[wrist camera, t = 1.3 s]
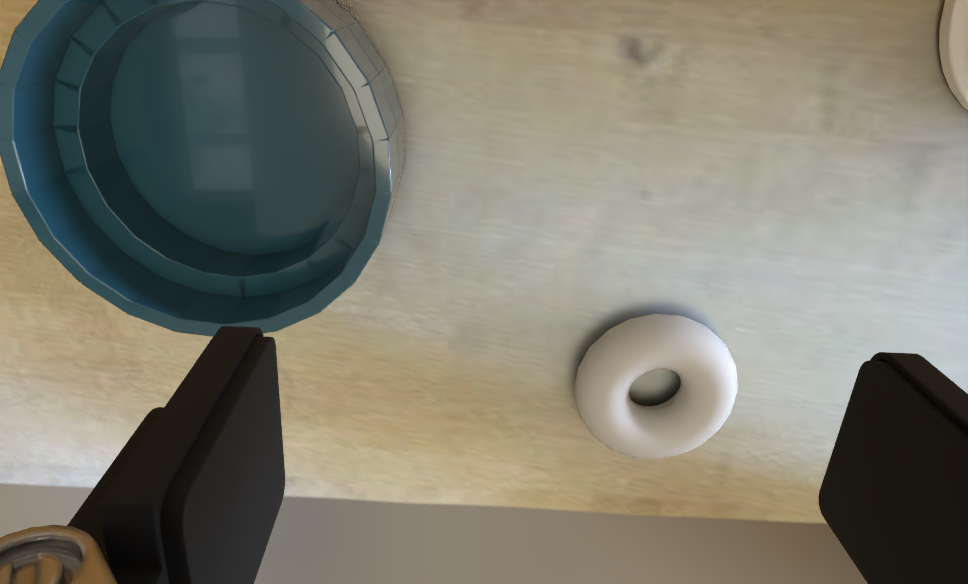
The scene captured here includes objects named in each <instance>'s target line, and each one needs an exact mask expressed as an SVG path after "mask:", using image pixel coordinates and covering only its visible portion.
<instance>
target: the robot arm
mask: <svg viewBox="0 0 968 584" xmlns="http://www.w3.org/2000/svg"><path fill="white" fill-rule="evenodd" d="M939 52H940V58H941V64H942V70H943V73H944V75H945V78H946V80H947V83H948V85H949V87H950V90H951V91H952V93H953V94H954V95H955V97H956V98H957V99H958V101H959V102H960V104H961V105H962V106H963V107H964V108H965V109H967V110H968V0H945V4H944V8H943V13H942V17H941V22H940V36H939ZM284 488H285V469H284V455H283V441H282V427H281V413H280V399H279V385H278V371H277V357H276V345H275V340H274V338H273V337H263V332H262V330H261V328H260V327H238V326H221V327H220V328H219V329H218V331H217V332H216V334H215V335H214V337H213V338H212V340H211V341H210V342H209V344H208V345H207V347H206V348H205V350H204V351H203V353H202V354H201V355H200V357H199V358H198V360H197V361H196V363H195V364H194V366H193V367H192V368H191V370H190V371H189V373H188V374H187V376H186V377H185V379H184V380H183V381H182V383H181V384H180V386H179V387H178V389H177V390H176V392H175V393H174V394H173V396H172V397H171V399H170V400H169V402H168V403H167V405H166V406H165V407H164V408H162V407H158V408H155V409H152V410H151V411H150V412H149V414H148V415H147V416H146V417H145V418H144V420H143V421H142V423H141V424H140V425H139V427H138V428H137V430H136V431H135V432H134V434H133V435H132V437H131V438H130V439H129V441H128V442H127V443H126V445H125V446H124V448H123V449H122V450H121V452H120V453H119V455H118V456H117V457H116V459H115V460H114V462H113V463H112V464H111V466H110V467H109V468H108V470H107V471H106V473H105V474H104V475H103V477H102V478H101V480H100V481H99V482H98V484H97V485H96V487H95V488H94V489H93V491H92V492H91V494H90V495H89V496H88V498H87V499H86V500H85V502H84V503H83V505H82V506H81V507H80V509H79V510H78V512H77V513H76V514H75V516H74V517H73V518H72V520H71V521H70V523H69V524H68V525H67V526H60V525H48V526H40V527H32V528H28V529H25V530H21V531H18V532H14V533H11V534H8V535H5V536H3V537H1V538H0V584H254V581H255V578H256V575H257V572H258V570H259V567H260V564H261V561H262V558H263V555H264V552H265V549H266V546H267V543H268V540H269V537H270V535H271V532H272V529H273V526H274V523H275V520H276V517H277V514H278V511H279V508H280V506H281V503H282V499H283V495H284ZM819 507H820V510H821V513H822V515H823V517H824V519H825V520H826V522H827V523H828V525H829V526H830V528H831V529H832V531H833V532H834V533H835V535H836V537H837V538H838V540H839V541H840V543H841V544H842V546H843V547H844V549H845V550H846V552H847V553H848V554H849V556H850V558H851V559H852V560H853V562H854V564H855V565H856V566H857V568H858V569H859V571H860V572H861V574H862V575H863V577H864V578H865V580H866V581H867V583H868V584H968V394H967V393H966V392H965V391H963V390H962V389H961V388H960V387H958V386H957V385H956V384H955V383H954V382H952V381H951V380H950V379H949V378H948V377H946V376H945V375H944V374H943V373H942V372H940V371H939V370H938V369H937V368H935V367H934V366H933V365H932V364H931V363H929V362H928V361H927V360H926V359H925V358H923V357H922V356H920V355H918V354H910V353H885V352H879V353H877V354H875V355H874V356H873V357H872V358H871V360H870V361H866V362H864V363H863V364H862V366H861V368H860V370H859V373H858V376H857V379H856V382H855V385H854V388H853V391H852V394H851V397H850V400H849V403H848V406H847V409H846V412H845V415H844V418H843V421H842V425H841V428H840V431H839V434H838V437H837V440H836V443H835V446H834V449H833V452H832V455H831V458H830V461H829V464H828V467H827V470H826V473H825V476H824V479H823V483H822V486H821V489H820V492H819Z"/></svg>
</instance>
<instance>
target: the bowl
mask: <svg viewBox="0 0 968 584" xmlns="http://www.w3.org/2000/svg"><path fill="white" fill-rule="evenodd" d="M0 155H1V159H2V162H3V166H4V169H5V173H6V176H7V179H8V183H9V186H10V190H11V192H12V195H13V197H14V199H15V201H16V202H17V204H18V206H19V207H20V209H21V211H22V212H23V214H24V216H25V217H26V219H27V221H28V222H29V224H30V226H31V227H32V229H33V231H34V232H35V234H36V236H37V238H38V239H39V241H40V242H42V244H43V245H44V246H45V247H46V248H47V249H48V250H49V251H50V252H51V253H52V254H53V255H54V256H55V258H56V259H57V260H58V261H59V262H60V263H61V264H62V265H63V266H64V267H65V268H66V269H67V270H68V271H69V272H70V273H71V274H72V275H73V276H74V277H75V278H76V279H77V280H78V281H79V282H81V284H83V285H84V286H86V287H87V288H89V289H90V290H92V291H93V292H95V293H96V294H98V295H99V296H101V297H102V298H104V299H105V300H107V301H109V302H110V303H112V304H113V305H115V306H116V307H118V308H119V309H121V310H122V311H124V312H127V314H129V315H132V316H134V317H137V318H140V319H143V320H145V321H148V322H151V323H153V324H156V325H159V326H161V327H164V328H167V329H170V330H172V331H175V332H181V333H189V334H197V335H205V336H214V335H215V334H216V332H217V331H218V329H219V328H220V327H221V326H238V327H260V328H261V330H262V332H263V333H268V332H274V331H278V330H281V329H283V328H285V327H288V326H290V325H292V324H295V323H297V322H299V321H302V320H304V319H306V318H309V317H311V316H313V315H316V314H318V313H319V312H321V311H322V310H323V309H324V308H326V307H327V306H328V305H329V304H330V303H332V302H333V301H334V300H335V299H336V298H337V297H339V296H340V295H341V294H342V293H343V292H345V291H346V290H347V289H348V288H349V287H350V286H352V285H353V284H354V282H356V280H357V278H358V277H359V275H360V274H361V272H362V270H363V269H364V267H365V266H366V264H367V262H368V261H369V259H370V258H371V256H372V254H373V253H374V251H375V250H376V248H377V246H378V245H379V243H380V241H381V238H382V235H383V232H384V229H385V227H386V224H387V221H388V218H389V216H390V213H391V210H392V207H393V205H394V202H395V198H396V194H397V190H398V186H399V182H400V178H401V174H402V170H403V166H404V162H405V148H404V125H403V112H402V109H401V106H400V103H399V100H398V97H397V94H396V91H395V88H394V85H393V82H392V79H391V76H390V73H389V70H388V67H387V66H386V63H385V62H384V60H383V59H382V57H381V56H380V54H379V53H378V51H377V50H376V48H375V47H374V45H373V44H372V42H371V41H370V39H369V38H368V36H367V35H366V33H365V32H364V30H363V29H362V27H361V26H360V24H359V23H358V22H357V21H356V20H355V19H354V18H353V17H352V16H351V15H350V14H349V13H347V12H346V11H345V10H344V9H343V8H342V7H341V6H339V5H338V4H337V3H336V2H335V1H334V0H38V2H37V3H36V4H35V5H34V6H33V8H32V9H31V10H30V11H29V12H28V14H27V15H26V16H25V17H24V18H23V20H22V21H21V22H20V23H19V24H18V26H17V27H16V28H15V31H14V32H13V35H12V37H11V40H10V43H9V46H8V49H7V52H6V55H5V58H4V61H3V63H2V66H1V69H0Z"/></svg>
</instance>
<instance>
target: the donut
mask: <svg viewBox="0 0 968 584" xmlns="http://www.w3.org/2000/svg"><path fill="white" fill-rule="evenodd" d="M657 369H668V370H671V371H674V372H676V373H677V374H678V375H679V377H680V378H681V385H680V389H679V390H678V392H677V393H676V395H674V396H673V397H672V398H671V399H670V400H668V401H666V402H664V403H662V404H660V405H655V406H641V405H638V404H636V403H635V402H633V401H632V400H631V399H630V397H629V390H630V386H631V385H632V383H633V382H634V381H635V380H636V379H637V378H638V377H639V376H641V375H643V374H645V373H647V372H649V371H652V370H657ZM737 389H738V386H737V375H736V366H735V363H734V361H733V359H732V357H731V355H730V353H729V351H728V349H727V347H726V345H725V343H724V342H723V341H722V340H721V339H720V338H718V337H717V336H716V335H715V334H714V333H713V332H712V331H710V330H709V329H708V328H707V327H706V326H705V325H703V324H701V323H698V322H696V321H693V320H691V319H688V318H686V317H683V316H679V315H666V314H651V315H646V316H641V317H636V318H631V319H629V320H627V321H625V322H623V323H621V324H619V325H617V326H615V327H613V328H611V329H609V330H608V331H607V332H606V333H605V334H603V335H602V336H601V337H600V338H599V339H598V340H597V341H596V342H595V343H594V344H593V345H592V346H591V347H590V348H589V350H588V351H587V353H586V355H585V357H584V358H583V360H582V362H581V364H580V366H579V367H578V373H577V379H576V384H575V398H576V403H577V408H578V413H579V415H580V417H581V419H582V420H583V422H584V423H585V425H586V427H587V428H588V430H589V431H590V433H591V434H592V436H594V437H595V438H596V439H598V440H599V441H600V442H601V443H603V444H604V445H605V446H607V447H608V448H609V449H611V450H613V451H616V452H619V453H621V454H624V455H627V456H630V457H632V458H644V459H661V458H666V457H672V456H677V455H680V454H683V453H685V452H687V451H689V450H691V449H694V448H696V447H698V446H700V445H701V444H703V443H704V442H705V441H706V440H708V439H709V438H710V437H711V436H712V435H714V434H715V433H716V432H717V431H718V430H719V429H720V427H721V426H722V424H723V423H724V422H725V420H726V419H727V417H728V416H729V414H730V413H731V410H732V406H733V403H734V399H735V396H736V392H737Z"/></svg>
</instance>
